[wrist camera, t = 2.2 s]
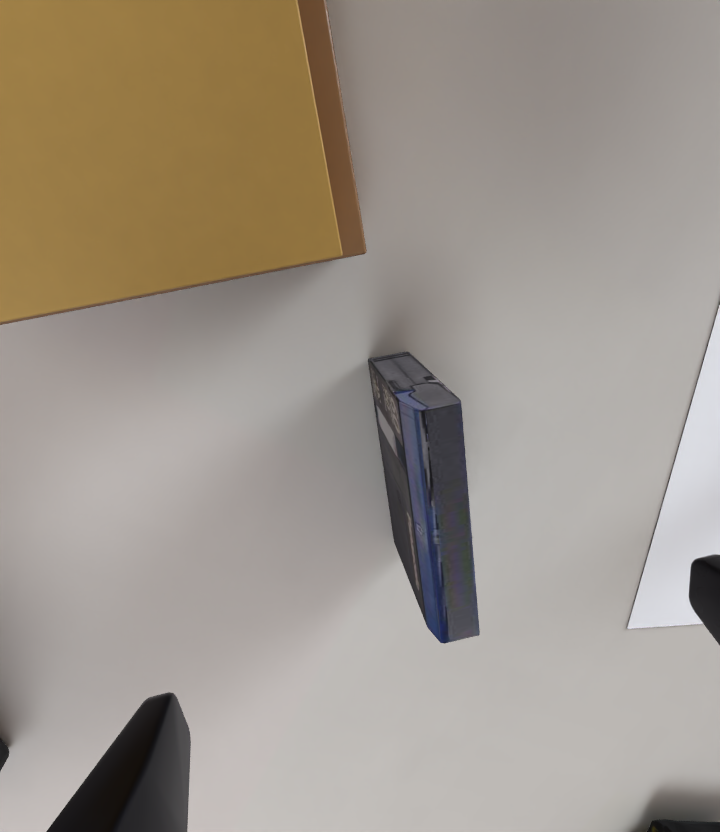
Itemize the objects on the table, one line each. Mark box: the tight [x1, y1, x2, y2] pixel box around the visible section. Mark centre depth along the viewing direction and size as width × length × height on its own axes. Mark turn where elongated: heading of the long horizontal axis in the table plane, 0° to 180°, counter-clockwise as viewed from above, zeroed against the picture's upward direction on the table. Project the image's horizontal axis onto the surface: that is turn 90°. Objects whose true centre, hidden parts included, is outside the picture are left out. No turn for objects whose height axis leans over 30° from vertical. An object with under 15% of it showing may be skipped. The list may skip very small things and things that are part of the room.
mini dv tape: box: [368, 352, 479, 643], centre depth 18 cm, size 8×2×6 cm, turn 8°
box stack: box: [0, 0, 367, 325], centre depth 13 cm, size 11×10×6 cm
